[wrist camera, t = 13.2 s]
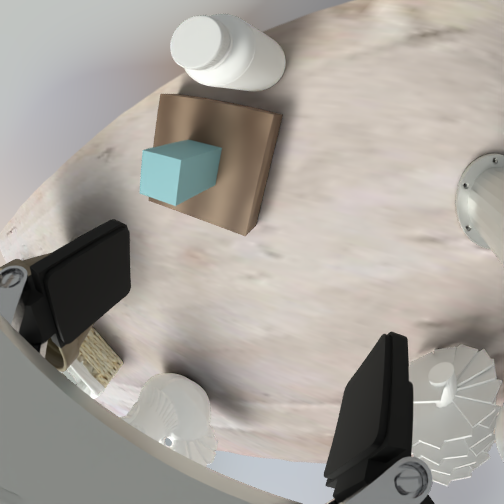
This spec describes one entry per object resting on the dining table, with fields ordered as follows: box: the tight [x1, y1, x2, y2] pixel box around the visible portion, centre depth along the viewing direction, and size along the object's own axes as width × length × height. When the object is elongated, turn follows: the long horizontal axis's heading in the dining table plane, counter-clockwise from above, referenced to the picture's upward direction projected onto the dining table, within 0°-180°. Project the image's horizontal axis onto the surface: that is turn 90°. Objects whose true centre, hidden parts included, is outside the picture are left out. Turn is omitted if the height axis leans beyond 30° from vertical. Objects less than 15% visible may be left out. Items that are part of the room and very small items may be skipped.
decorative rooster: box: [119, 373, 218, 467], centre depth 60 cm, size 25×16×25 cm, turn 32°
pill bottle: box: [170, 14, 286, 91], centre depth 26 cm, size 8×8×15 cm
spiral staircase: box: [409, 344, 502, 486], centre depth 34 cm, size 18×18×25 cm
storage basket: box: [59, 328, 123, 399], centre depth 75 cm, size 24×16×15 cm
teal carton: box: [140, 140, 222, 206], centre depth 33 cm, size 5×5×9 cm
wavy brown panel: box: [149, 94, 283, 236], centre depth 39 cm, size 16×16×4 cm
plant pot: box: [0, 253, 94, 372], centre depth 55 cm, size 25×25×22 cm
